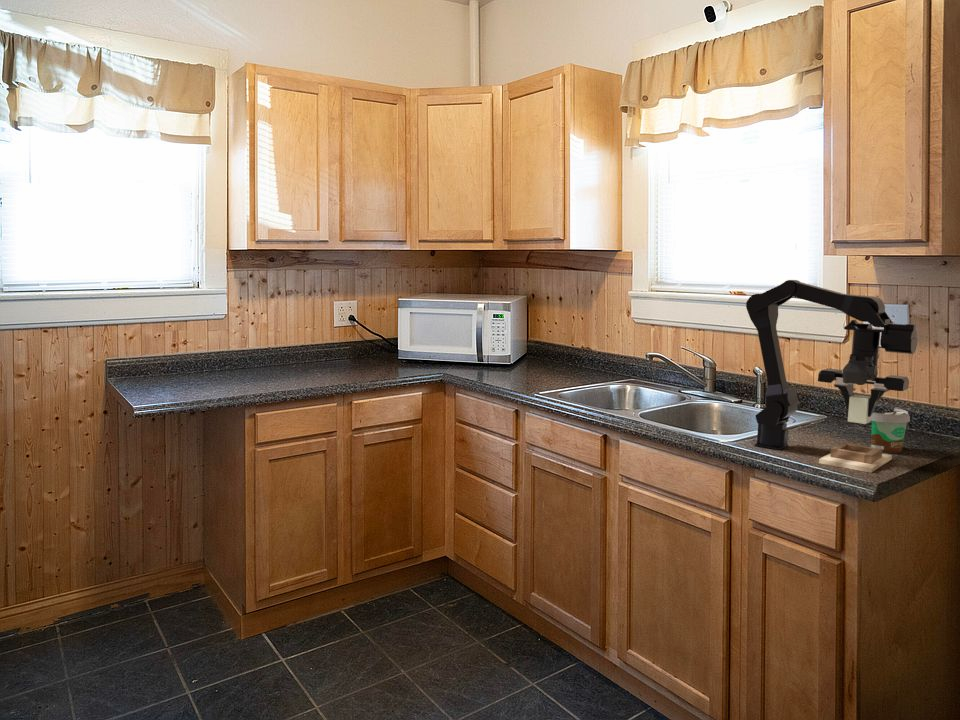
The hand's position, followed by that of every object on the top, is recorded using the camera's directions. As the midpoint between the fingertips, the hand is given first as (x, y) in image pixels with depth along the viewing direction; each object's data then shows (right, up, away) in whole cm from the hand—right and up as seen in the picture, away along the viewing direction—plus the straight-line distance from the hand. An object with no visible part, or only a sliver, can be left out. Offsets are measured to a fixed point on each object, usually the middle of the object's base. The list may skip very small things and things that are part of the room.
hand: (859, 415), depth 186 cm
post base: (0, -11, +1) cm, 11 cm away
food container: (+14, -10, +13) cm, 22 cm away
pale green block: (0, -2, 0) cm, 2 cm away
